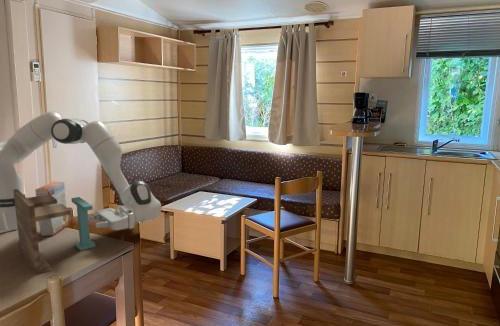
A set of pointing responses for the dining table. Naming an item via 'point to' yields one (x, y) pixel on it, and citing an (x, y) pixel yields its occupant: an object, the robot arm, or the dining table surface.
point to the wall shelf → (34, 225)
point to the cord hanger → (83, 223)
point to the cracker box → (58, 192)
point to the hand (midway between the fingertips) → (91, 222)
